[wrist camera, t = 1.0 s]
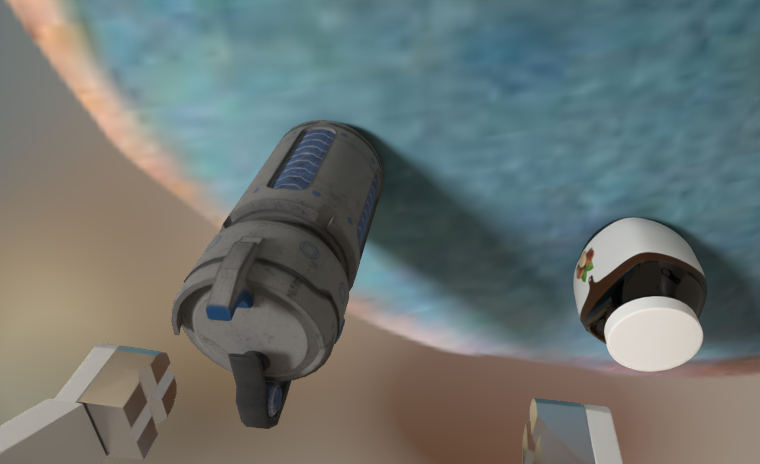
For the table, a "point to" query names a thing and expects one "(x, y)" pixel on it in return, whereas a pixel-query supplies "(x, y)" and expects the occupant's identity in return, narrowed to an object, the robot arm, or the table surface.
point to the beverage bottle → (284, 266)
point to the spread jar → (641, 294)
